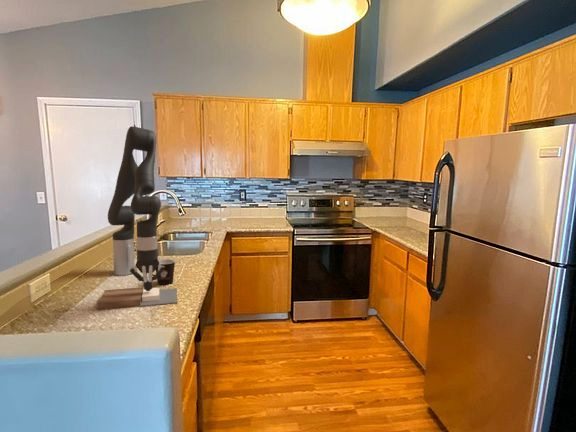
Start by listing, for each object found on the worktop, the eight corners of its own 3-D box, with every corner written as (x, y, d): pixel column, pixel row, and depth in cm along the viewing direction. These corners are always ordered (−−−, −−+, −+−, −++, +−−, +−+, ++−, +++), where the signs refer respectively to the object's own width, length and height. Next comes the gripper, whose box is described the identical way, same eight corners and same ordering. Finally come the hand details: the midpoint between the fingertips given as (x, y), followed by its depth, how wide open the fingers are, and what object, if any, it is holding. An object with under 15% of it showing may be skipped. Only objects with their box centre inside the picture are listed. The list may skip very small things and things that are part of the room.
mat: (143, 292, 134) (143, 290, 134) (176, 289, 138) (176, 288, 138) (140, 306, 119) (140, 305, 119) (177, 303, 123) (177, 301, 123)
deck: (105, 296, 128) (105, 290, 128) (143, 292, 133) (143, 287, 133) (97, 310, 115) (97, 303, 115) (140, 305, 120) (140, 299, 120)
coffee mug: (179, 281, 149) (178, 260, 148) (167, 287, 141) (167, 265, 139) (157, 278, 152) (157, 257, 151) (145, 284, 144) (144, 262, 142)
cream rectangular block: (143, 293, 131) (143, 289, 131) (159, 292, 133) (159, 287, 133) (142, 301, 122) (141, 296, 122) (159, 300, 125) (158, 295, 124)
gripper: (165, 244, 131) (166, 286, 133) (129, 246, 126) (130, 288, 128) (165, 248, 124) (165, 292, 126) (127, 250, 119) (128, 295, 121)
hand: (148, 290), depth 127 cm, fingers closed
